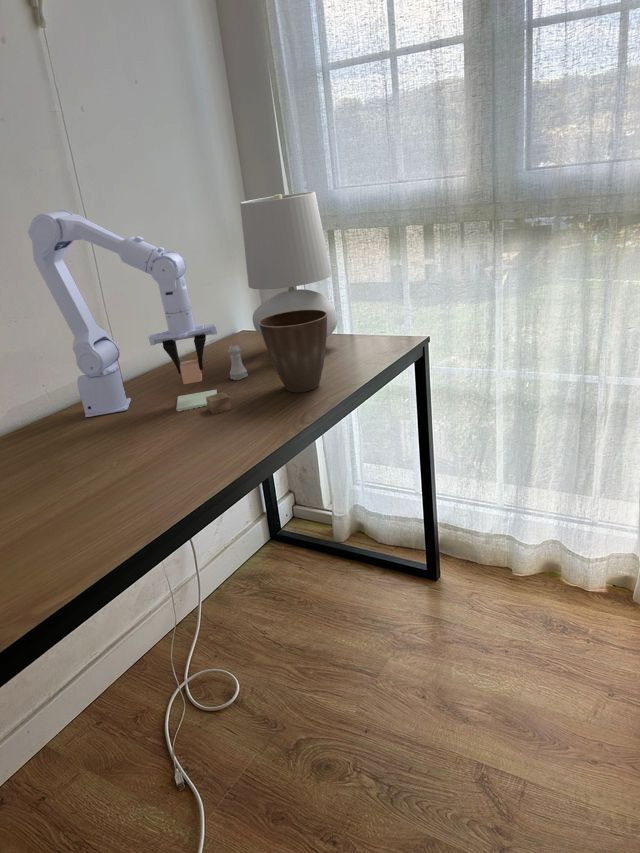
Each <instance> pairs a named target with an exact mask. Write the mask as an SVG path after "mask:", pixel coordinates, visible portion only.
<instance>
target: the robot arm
mask: <svg viewBox="0 0 640 853" xmlns="http://www.w3.org/2000/svg"><path fill="white" fill-rule="evenodd" d="M27 234H28V236H29V238H30V239H31V245H32V255H33V261H34V263H35V264H34V265H35V266H36V267H37V269H38V272H40V275H41V277H42V278H43V281H44V282H45V284H46V286H47V288H48V290H49V291H50V294H51V296H52V298H53V299H54V301H55V303H56V305H57V307H58V309H59V311H60V313H61V315H62V316H63V318H64V320H65V322H66V324H67V325H68V328H69V329H70V331H71V333H72V335H73V337H74V338H73V343H72V350H73V352H74V354H75V359H76V360H75V362H76V366H77V368H78V369H79V371H80V372H81V373H82V375H78V377H77V389H78V393H79V396H80V400H81V404H82V406H83V412H84V414H85V415H84V416H85V418H90V417H95V416H96V417H97V416H102V415H107V414H114V413H118V412H124V411H128V409H129V406H130V405H131V401H132V398H131V397H127V396H126V392H125V387H124V384H123V380H122V377H121V372H120V368H119V364H118V361H119V358H120V356H121V351H120V347H119V345H118V344H117V343H116V341H114V340H113V339H112V338H110V336H109V335H108V332H107V331H106V330H104V329H103V328H101V327H99V326H98V325H97V323H96V321H95V318H94V317H93V315H92V314H91V312H90V309H89V308H88V305H87V304H86V302H85V299H84V298H83V296H82V294H81V292H80V290H79V288H78V286H77V284H76V283H75V281H74V279H73V277H72V275H71V272H70V271H69V269H68V267H67V265H66V263H65V262H64V258H65V256H66V254H67V253H66V252H67V250H68V248H69V246H70V245H72V243H73V242H74V241H79V240H83V241H85V242H88V243H91V244H92V245H96V246H98V247H100V248H103V249H105V250H108V251H111V252H113V253H116V254H117V255H118V256H119V259H120V260H121V262H122V263H124V264H127V265H129V266H131V267H133V268H135V269H137V270H140V271H142V272H144V273H146V274H149V275H150V276H151V278H153V280H154V281H155V282H156V283H157V284H158V285H157V286H158V288H159V294H160V297H161V302H162V306H163V311H164V315H165V320H166V325H167V329H168V330H166V331H163V332H162V331H161V332H158V333H154V334H149V335H148V341H149V345H150V346H155V345H158V344H162V348H163V350H164V351H165V352H166V353H167V355H168V356H169V357H170V359H171V360H172V362H173V364H174V365H175V368H176V369H177V373H178V374H179V375H181V370H180V363H181V361H180V357H179V351H178V347H177V343H176V342H177V341H182V340H186V339H192V338H193V343H194V347H195V351H196V355H197V359H198V363H199V368H200V370H201V371H204V365H203V363H204V362H203V356H204V351H205V350H204V348H205V345H206V344H205V343H206V337H207V336H211V335H212V336H215V335H217V334H218V330H217V324H214V323H213V324H205V325H195V321H194V320H195V319H194V316H193V311H192V306H191V301H190V296H189V291H188V287H187V283H186V282H187V281H186V278H185V273H186V270H187V264H186V259H184V257H183V256H182V255H181V254H179V253H178V252H177V251H175V250H170V251H169V250H168V251H165V248H164V247H162V246H159V247H157V246H155V245H152V244H151V243H148V242H146V241H145V239H144V237H142V236H140V235H138V236H129V237H127V238H124V237H121V236H119V235H118V234H116V233H114V232H112V231H110V230H107V229H105V228H104V227H102V226H100V225H98V224H96V223H95V222H92V221H90V220H89V219H86V218H85V217H84V216H82V215H81V214H77V213H73V212H71V211H69V210H66V209H61V210H58V211H56V212H55V211H53V212H49V213H40V214H37V215H36V216H34V217H33V218H32V220H31V223H30V226H29V228H28V231H27Z"/></svg>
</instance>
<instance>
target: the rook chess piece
mask: <svg viewBox="0 0 640 853" xmlns="http://www.w3.org/2000/svg"><path fill="white" fill-rule="evenodd" d="M241 351H242V349H241V347H240V346H239V344H233V345H230V346H228V349H227V352H228V354H229V358H230V362H231V363H230V364H231V367H230V371H229V375H230V377H229V378H230V379H231V380H232V379H233V380H232V381H239V380H238V379H242V378H245V377H246V378H248V376H249V374H248V370H247V368H245V367H246V366H244V364H243V361H242V357H241V356H242V355H241V353H240V352H241ZM246 378H245V379H246ZM242 380H243V379H242Z"/></svg>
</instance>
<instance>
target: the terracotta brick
mask: <svg viewBox="0 0 640 853" xmlns="http://www.w3.org/2000/svg"><path fill="white" fill-rule="evenodd" d="M180 370H181V374H180V375H181V379H182V383H183V384H182V385H186V384H187V385H188V384H192V383H193V384H194V383H198V382H202V381H203V374H202V373H203V372H202V370H200V368H199V363H198V358H197V359H193V360H186V361H180Z"/></svg>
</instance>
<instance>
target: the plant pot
mask: <svg viewBox="0 0 640 853" xmlns="http://www.w3.org/2000/svg"><path fill="white" fill-rule="evenodd" d="M259 326H260V329H261V332H262V335H263V337H262V338H263V341H264V344H265V347H266V349H267V351H268V355H269V358H270V360H271V362H272V364H273V366H274V369H275V371H276V373H277V375H278V377H279V379H280V380H281V382H282V384H283V386H284V387H285V390H286V391H287V392H290V393H305V392H310V391H312V390H315V389H317V388H318V387H319V386H320V382H321V378H322V373H323V369H324V364H325V356H326V348H327V338H328V337H327V312H325V311H322V310H296V311H289V312H283V313H279V314H275V315H271V316H268V317H266V318H264V319H262V320H260V321H259Z"/></svg>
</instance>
